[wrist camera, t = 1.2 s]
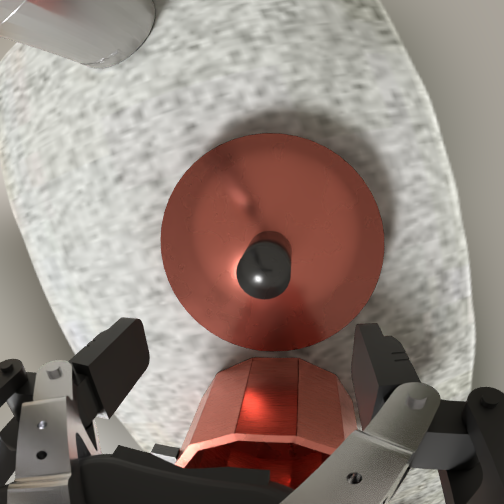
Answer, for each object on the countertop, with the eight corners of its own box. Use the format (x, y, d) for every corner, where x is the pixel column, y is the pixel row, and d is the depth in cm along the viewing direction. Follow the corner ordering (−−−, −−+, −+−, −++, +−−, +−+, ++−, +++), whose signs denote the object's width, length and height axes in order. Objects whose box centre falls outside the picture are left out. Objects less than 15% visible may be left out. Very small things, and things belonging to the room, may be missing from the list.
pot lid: (165, 146, 25) (118, 141, 17) (374, 136, 22) (407, 124, 15) (185, 331, 29) (154, 379, 22) (367, 332, 27) (387, 385, 19)
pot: (171, 352, 30) (130, 417, 20) (383, 354, 27) (410, 427, 17) (195, 450, 34) (173, 509, 24) (359, 454, 31) (367, 518, 21)
